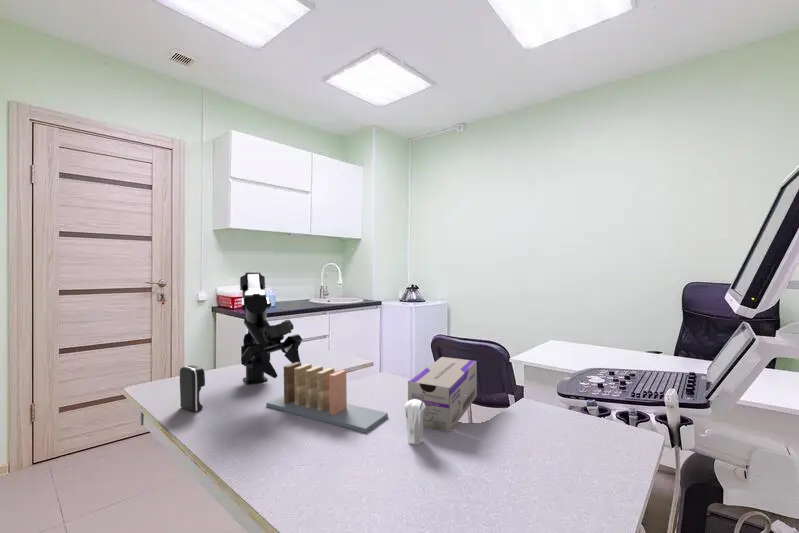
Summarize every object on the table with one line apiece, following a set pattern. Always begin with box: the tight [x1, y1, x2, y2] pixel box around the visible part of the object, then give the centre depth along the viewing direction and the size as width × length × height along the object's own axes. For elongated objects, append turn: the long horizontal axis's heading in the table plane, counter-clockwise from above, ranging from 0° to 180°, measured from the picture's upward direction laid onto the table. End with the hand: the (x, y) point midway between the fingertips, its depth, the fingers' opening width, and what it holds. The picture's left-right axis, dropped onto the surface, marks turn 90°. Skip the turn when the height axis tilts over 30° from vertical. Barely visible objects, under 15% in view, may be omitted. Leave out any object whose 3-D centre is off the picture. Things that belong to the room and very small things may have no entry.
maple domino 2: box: [306, 365, 324, 409], centre depth 102 cm, size 2×5×10 cm, turn 151°
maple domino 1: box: [294, 363, 313, 406], centre depth 104 cm, size 2×5×10 cm, turn 151°
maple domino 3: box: [317, 367, 335, 412], centre depth 100 cm, size 2×5×10 cm, turn 151°
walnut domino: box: [283, 361, 302, 403], centre depth 106 cm, size 2×5×10 cm, turn 151°
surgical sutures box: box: [407, 356, 478, 433], centre depth 102 cm, size 25×11×11 cm, turn 154°
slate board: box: [265, 394, 389, 434], centre depth 101 cm, size 33×10×1 cm, turn 61°
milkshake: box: [404, 399, 426, 446], centre depth 84 cm, size 4×5×10 cm
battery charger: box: [179, 364, 206, 413], centre depth 103 cm, size 7×4×11 cm, turn 57°
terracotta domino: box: [329, 369, 348, 415], centre depth 98 cm, size 2×5×10 cm, turn 151°
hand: (288, 372), depth 107 cm, fingers open, 9 cm apart
